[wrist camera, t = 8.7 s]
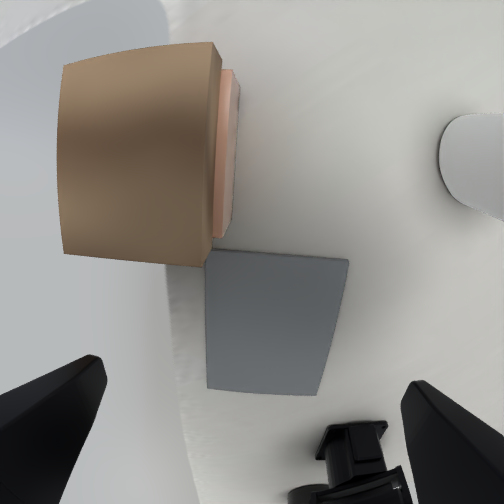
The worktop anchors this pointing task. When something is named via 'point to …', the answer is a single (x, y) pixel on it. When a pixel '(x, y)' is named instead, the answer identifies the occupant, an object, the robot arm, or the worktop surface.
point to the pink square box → (225, 152)
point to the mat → (270, 320)
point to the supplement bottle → (304, 494)
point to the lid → (139, 154)
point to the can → (475, 161)
